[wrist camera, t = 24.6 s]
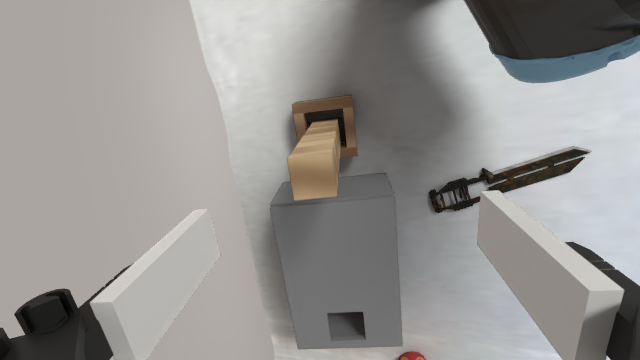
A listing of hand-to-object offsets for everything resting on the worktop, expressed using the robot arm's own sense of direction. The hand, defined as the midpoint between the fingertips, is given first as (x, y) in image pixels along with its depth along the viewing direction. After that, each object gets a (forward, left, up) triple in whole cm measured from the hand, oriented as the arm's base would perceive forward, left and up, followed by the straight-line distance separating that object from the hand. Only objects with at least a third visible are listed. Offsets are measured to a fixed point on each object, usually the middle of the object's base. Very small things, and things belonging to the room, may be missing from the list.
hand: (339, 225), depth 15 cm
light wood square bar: (+1, -3, -36) cm, 36 cm away
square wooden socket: (+1, -3, -36) cm, 36 cm away
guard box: (+24, -3, -36) cm, 43 cm away
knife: (+12, +26, -37) cm, 47 cm away
